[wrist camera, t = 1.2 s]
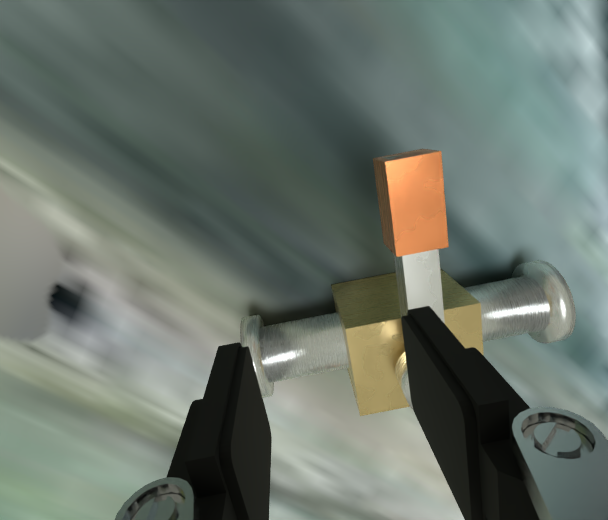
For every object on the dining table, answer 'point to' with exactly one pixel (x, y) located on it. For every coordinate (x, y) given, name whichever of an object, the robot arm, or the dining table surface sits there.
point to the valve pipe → (389, 336)
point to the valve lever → (413, 231)
